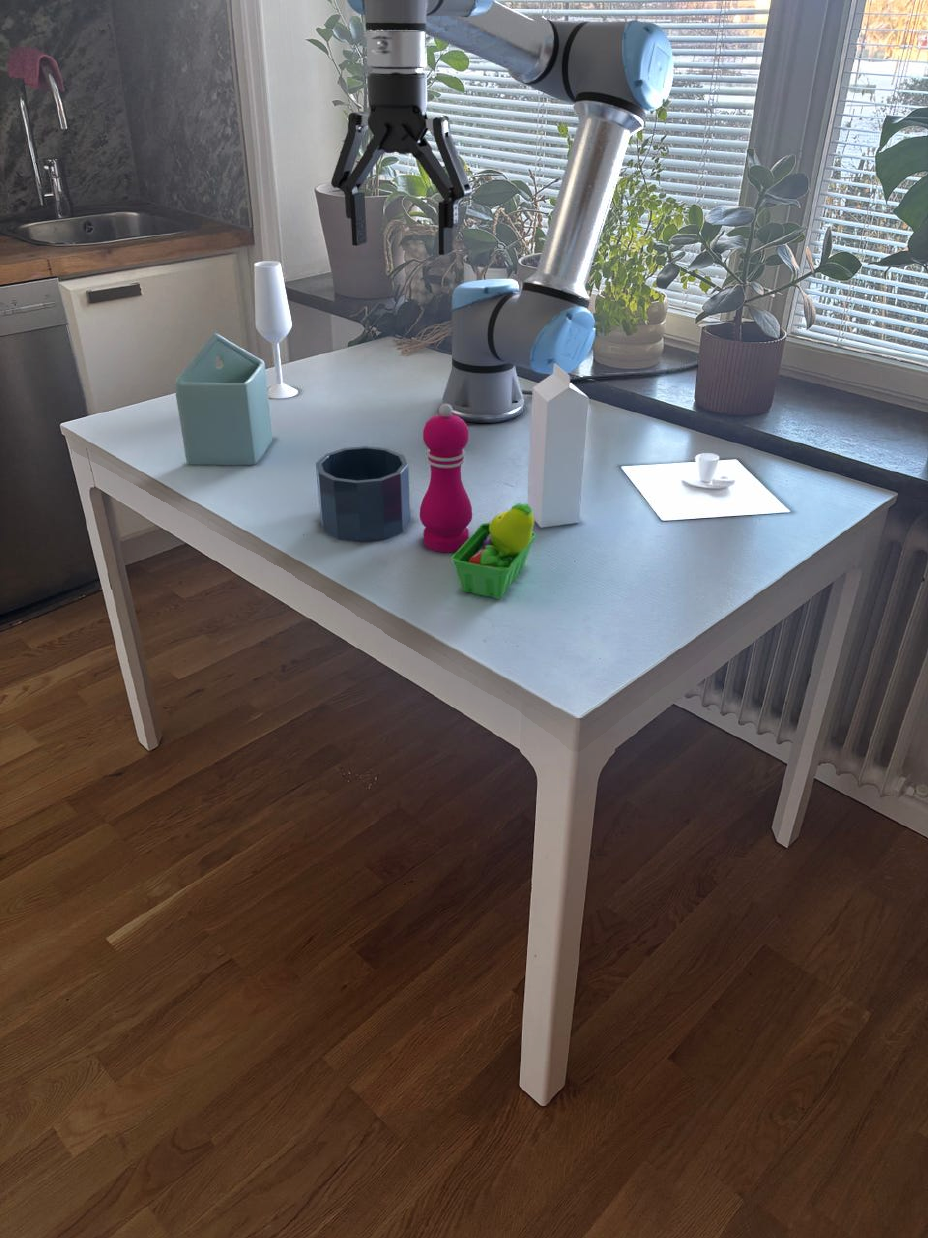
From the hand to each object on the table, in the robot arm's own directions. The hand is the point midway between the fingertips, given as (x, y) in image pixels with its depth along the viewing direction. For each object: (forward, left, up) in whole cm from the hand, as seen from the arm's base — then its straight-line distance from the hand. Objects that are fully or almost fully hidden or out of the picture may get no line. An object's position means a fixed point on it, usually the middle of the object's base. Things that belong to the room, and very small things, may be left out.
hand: (401, 248), depth 130 cm
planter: (+25, -15, -35) cm, 45 cm away
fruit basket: (-5, +34, -35) cm, 49 cm away
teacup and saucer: (-44, +14, -35) cm, 58 cm away
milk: (-18, +18, -35) cm, 43 cm away
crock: (+9, +13, -35) cm, 38 cm away
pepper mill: (-1, +22, -35) cm, 41 cm away
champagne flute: (+16, -46, -35) cm, 60 cm away
